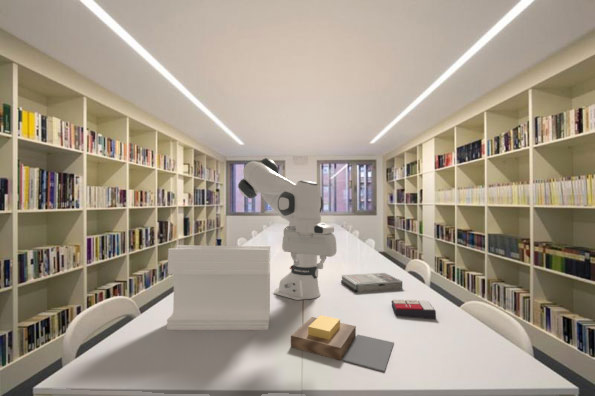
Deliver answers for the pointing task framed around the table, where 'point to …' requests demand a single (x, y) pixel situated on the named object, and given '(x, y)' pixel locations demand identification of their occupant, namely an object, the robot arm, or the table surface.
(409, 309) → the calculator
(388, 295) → the table surface
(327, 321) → the yellow rectangular block
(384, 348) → the mat
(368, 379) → the table surface
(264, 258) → the block
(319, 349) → the panel
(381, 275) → the hard drive
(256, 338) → the table surface
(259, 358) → the table surface
